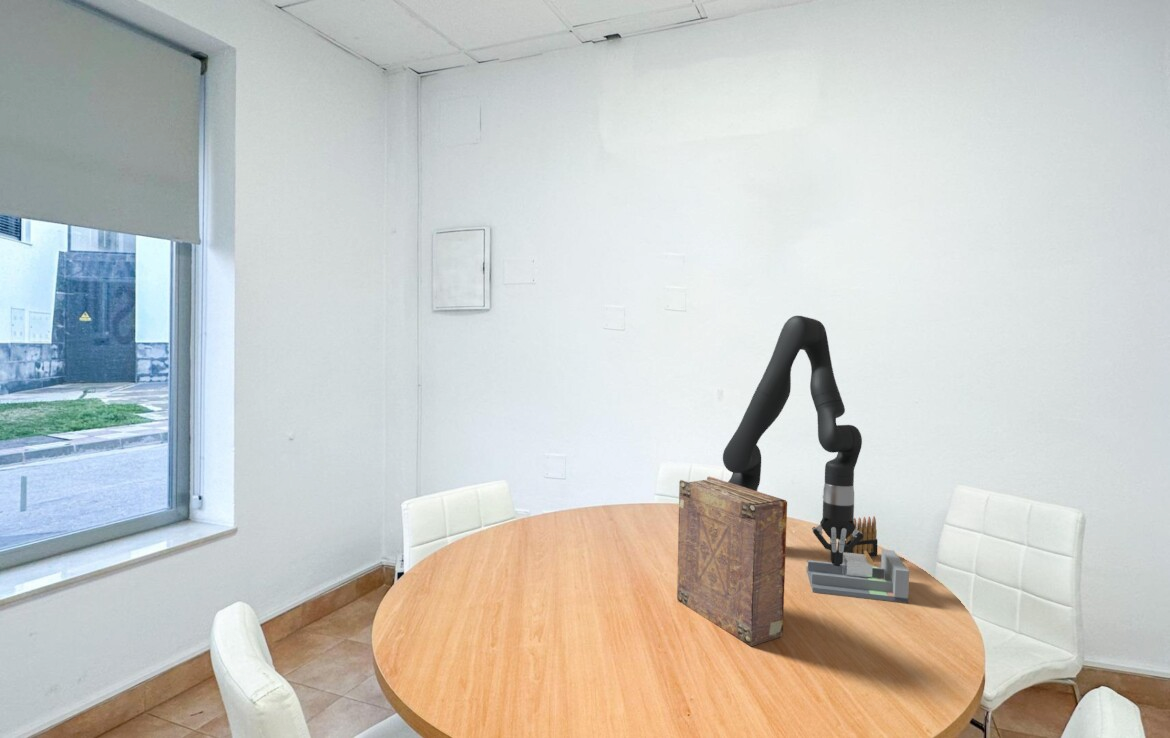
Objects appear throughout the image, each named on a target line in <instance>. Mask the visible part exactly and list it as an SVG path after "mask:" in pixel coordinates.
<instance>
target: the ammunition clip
mask: <svg viewBox="0 0 1170 738" xmlns="http://www.w3.org/2000/svg"><path fill="white" fill-rule="evenodd" d="M871 519H872V520H871ZM854 524H855V527H856V529H857V530H858V531H861V532H862V533H863V535H864V537H863V538H862V539H861V540H860V541H859V542H858V544H857V545H856V546H855V547H854V548H853V549H852V550H851V551H845V552H846V553H856V554H864V551H867V552H868V554H869V556H870V557H871V558H872V557H878V539H877V535H878V534H877V520H876V516H874V515H873V517H872V518H871V516H868V518H866V517H865V516H864V517H863V518H862V519H861V517H858V520H857V518H856V517H854ZM852 534H853V532H852V533H851V535H850V536H849V537H848V538H847V539H845V544H846V543H847V542H848V541H849V540H850V539H851V538H852V537H853V535H852Z"/></svg>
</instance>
